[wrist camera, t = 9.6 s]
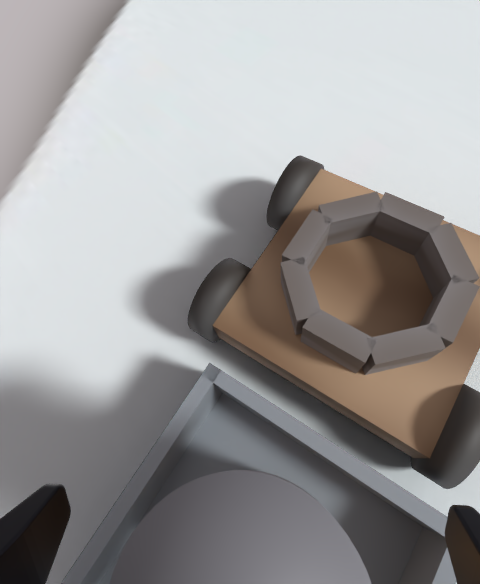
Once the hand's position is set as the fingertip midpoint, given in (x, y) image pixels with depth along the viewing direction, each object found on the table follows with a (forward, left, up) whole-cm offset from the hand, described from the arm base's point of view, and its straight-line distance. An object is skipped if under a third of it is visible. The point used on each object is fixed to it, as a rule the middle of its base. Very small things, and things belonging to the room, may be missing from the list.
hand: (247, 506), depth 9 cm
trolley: (+9, 0, -9) cm, 13 cm away
